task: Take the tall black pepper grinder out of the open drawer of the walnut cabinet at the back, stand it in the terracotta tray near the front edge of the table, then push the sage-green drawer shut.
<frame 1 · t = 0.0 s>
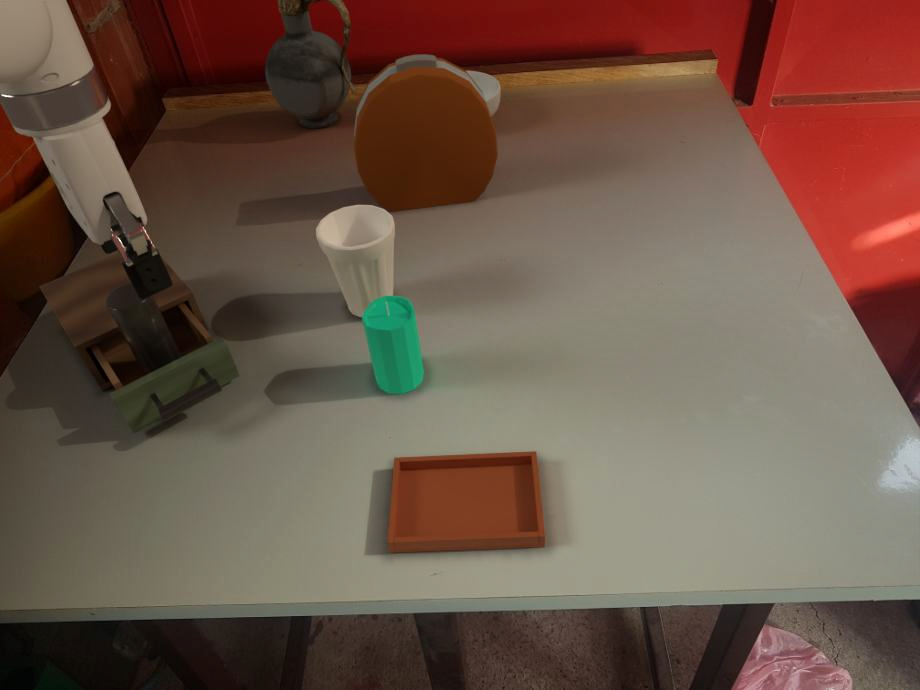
hand: (137, 268, 67), 22 cm above the table, tool pointing down, fingers open, 9 cm apart
cabinet: (137, 333, 95), on the table
pitcher: (326, 122, 139), on the table
drawer: (163, 364, 84), point 4 cm above the table, slide at 9.5 cm, touching grinder
tray: (466, 505, 72), on the table
alarm clock: (430, 191, 117), on the table
grinder: (166, 370, 86), point 2 cm above the table, touching drawer
cereal bowl: (458, 123, 134), on the table
candle: (400, 377, 86), on the table
cup: (371, 306, 96), on the table
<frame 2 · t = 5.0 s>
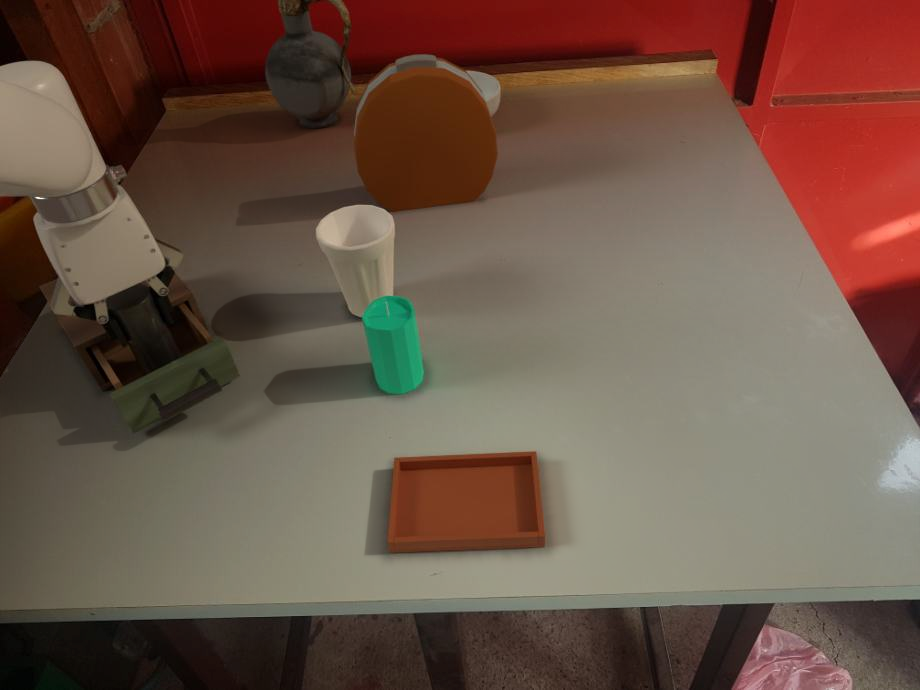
hand: (144, 328, 81), 9 cm above the table, tool pointing down, fingers closed on grinder, 4 cm apart
grinder: (166, 370, 86), point 2 cm above the table, touching drawer, gripper
everything else where it was.
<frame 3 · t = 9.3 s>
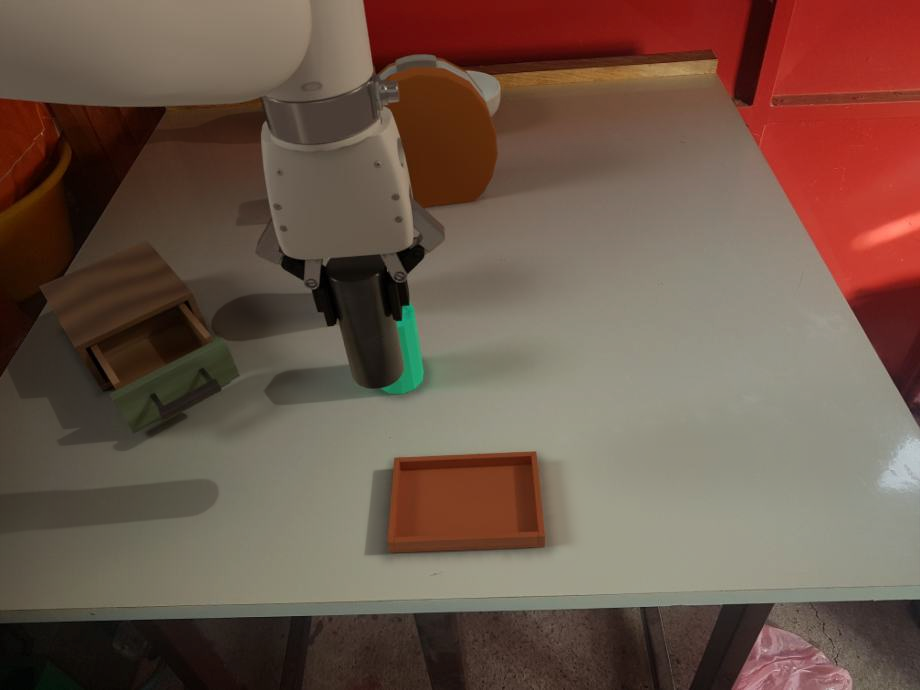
hand: (365, 311, 58), 24 cm above the table, tool pointing down, fingers closed on grinder, 4 cm apart
drawer: (164, 364, 84), point 4 cm above the table, slide at 9.5 cm
grinder: (378, 369, 63), point 17 cm above the table, touching gripper
everything else where it was.
when the fingers open (7 cm above the table, at t = 13.9 s): grinder stays where it is, resting on tray.
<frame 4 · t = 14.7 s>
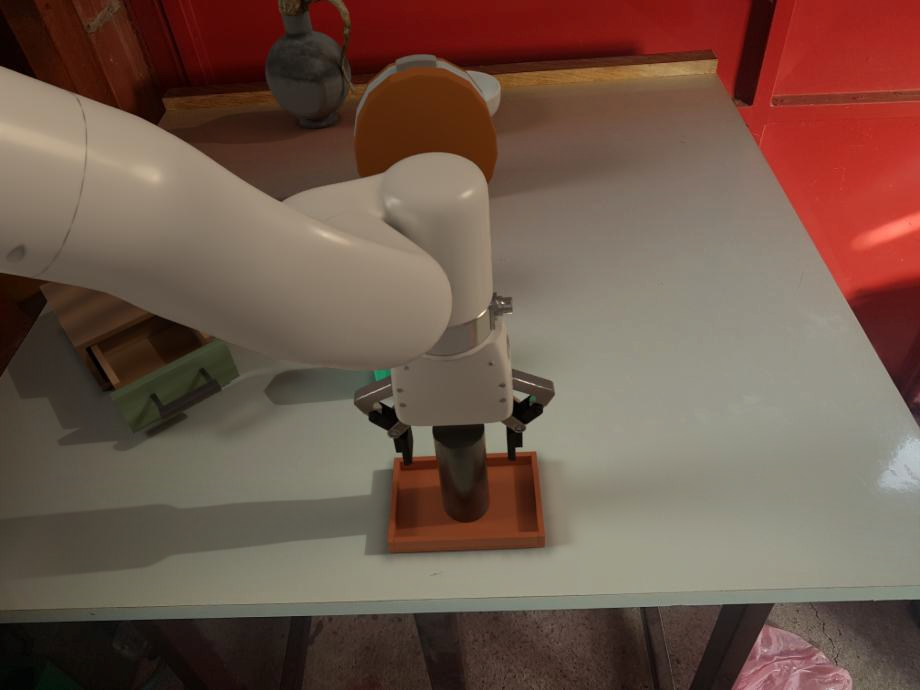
hand: (459, 451, 65), 9 cm above the table, tool pointing down, fingers open, 9 cm apart
grinder: (466, 502, 71), resting on tray
everything else where it was.
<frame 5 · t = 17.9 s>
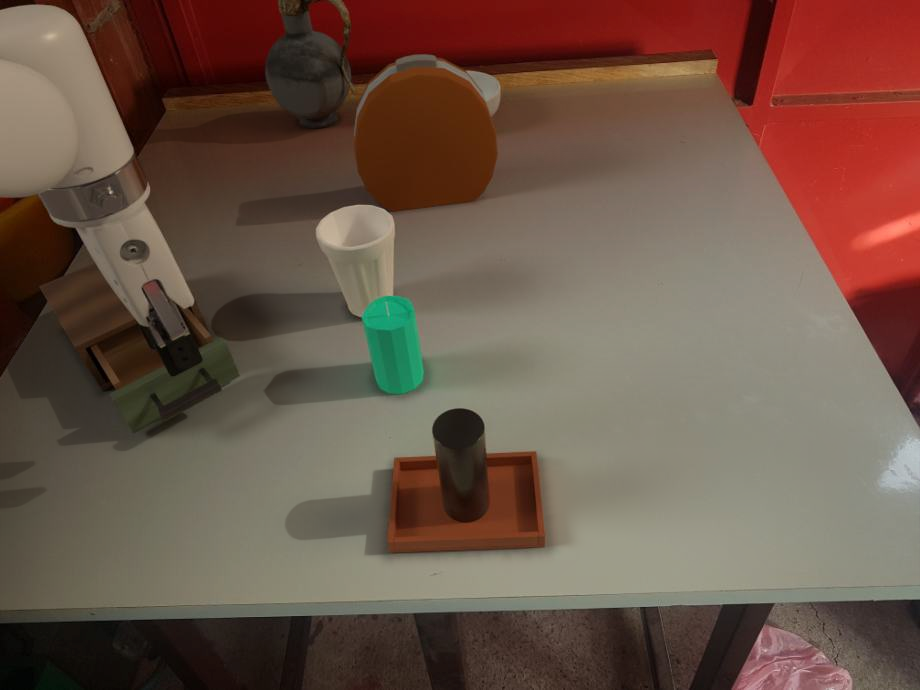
hand: (175, 353, 66), 17 cm above the table, tool pointing down, fingers open, 4 cm apart
nothing on the table moved.
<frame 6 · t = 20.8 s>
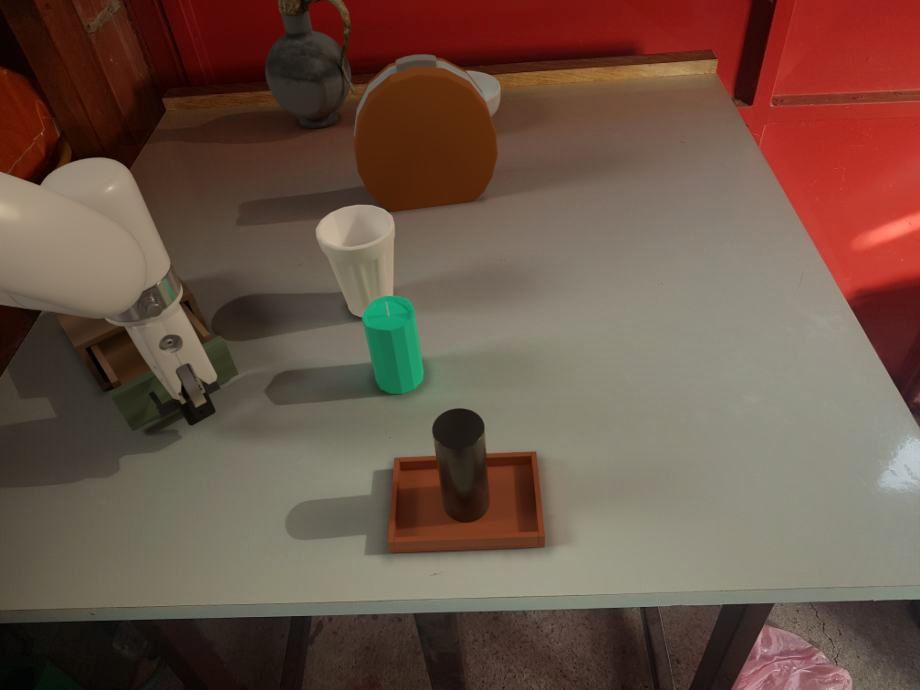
hand: (200, 415, 78), 4 cm above the table, tool pointing down, fingers closed
drawer: (162, 362, 85), point 4 cm above the table, slide at 9.1 cm, touching gripper
everything else where it was.
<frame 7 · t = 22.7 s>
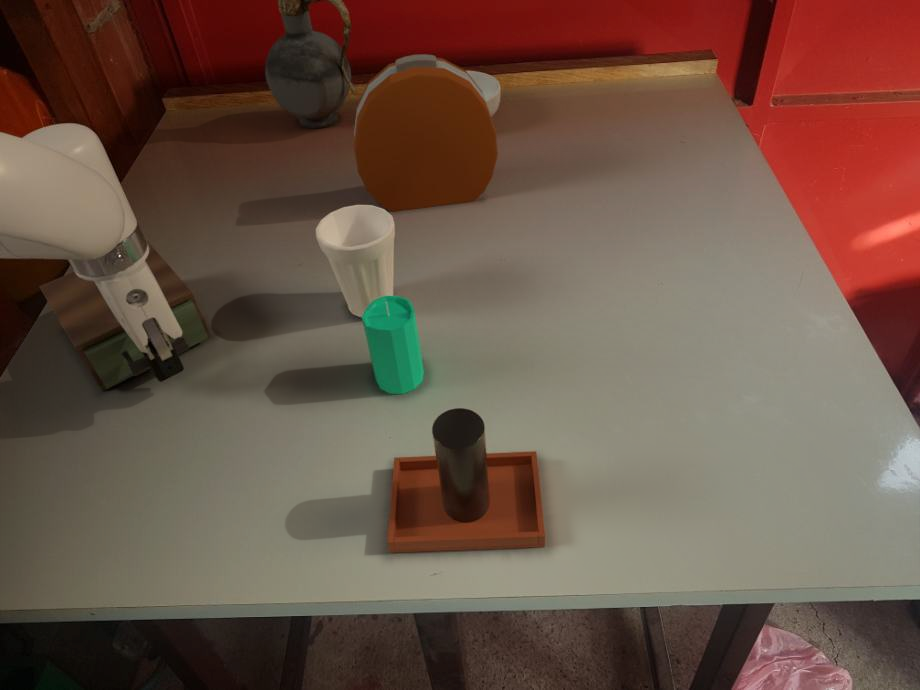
hand: (169, 372, 84), 4 cm above the table, tool pointing down, fingers closed
drawer: (136, 326, 90), point 4 cm above the table, slide at 0.0 cm, touching cabinet, gripper
everything else where it was.
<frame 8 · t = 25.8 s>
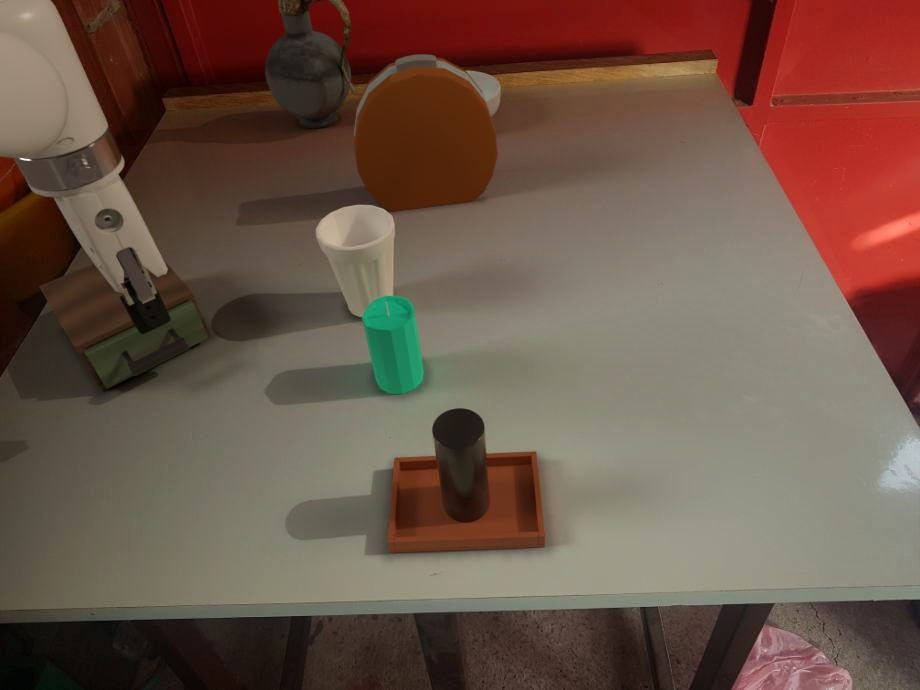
hand: (153, 323, 69), 17 cm above the table, tool pointing down, fingers closed
drawer: (136, 326, 90), point 4 cm above the table, slide at 0.0 cm, touching cabinet
everything else where it was.
at the end: grinder 0.1 cm off-centre in the tray, point 0.4 cm above the tray's base; grinder tilted 0°; drawer slide at 0.0 cm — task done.
